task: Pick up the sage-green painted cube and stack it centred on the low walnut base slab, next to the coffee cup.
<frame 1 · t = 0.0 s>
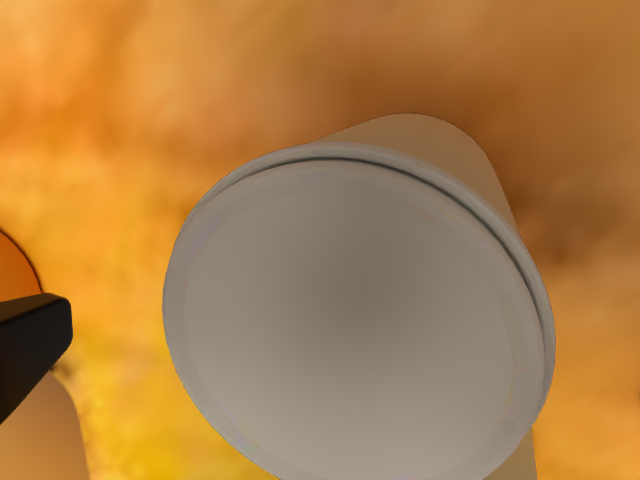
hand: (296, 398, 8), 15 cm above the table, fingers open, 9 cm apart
cube: (465, 445, 25), on the table
coffee cup: (407, 200, 22), on the table
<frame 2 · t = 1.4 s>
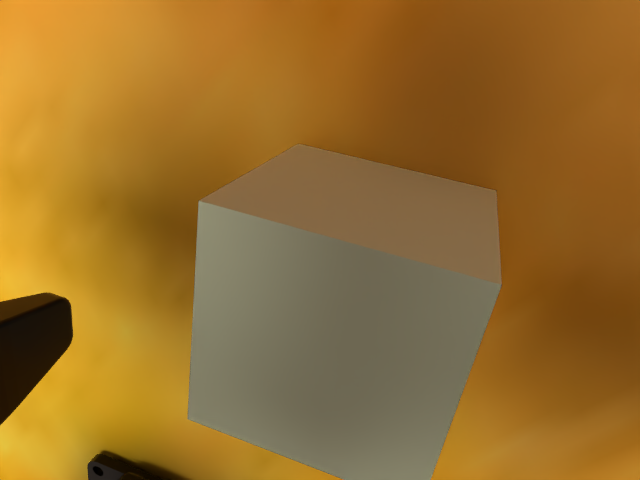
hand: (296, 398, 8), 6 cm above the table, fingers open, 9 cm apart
cube: (373, 254, 13), on the table
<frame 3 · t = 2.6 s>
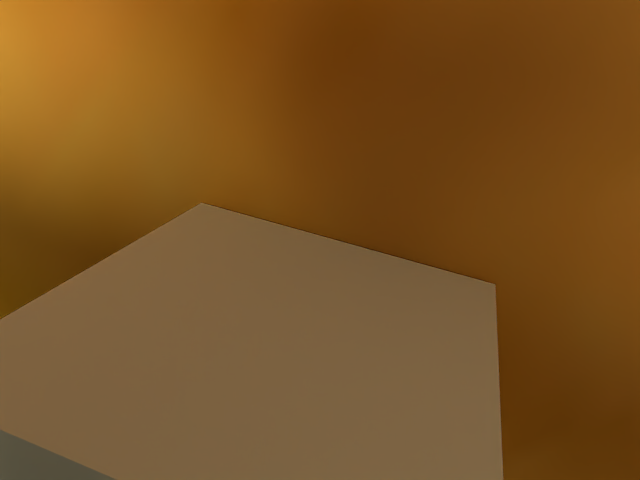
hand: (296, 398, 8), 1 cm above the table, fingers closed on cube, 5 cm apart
cube: (315, 362, 9), on the table, touching gripper
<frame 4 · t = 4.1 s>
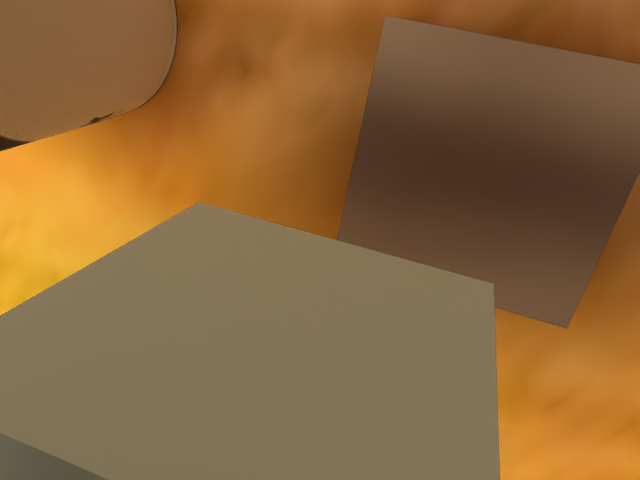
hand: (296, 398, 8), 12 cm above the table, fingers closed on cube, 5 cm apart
cube: (313, 361, 9), point 11 cm above the table, touching gripper
coffee cup: (96, 17, 20), on the table
base: (479, 161, 18), on the table
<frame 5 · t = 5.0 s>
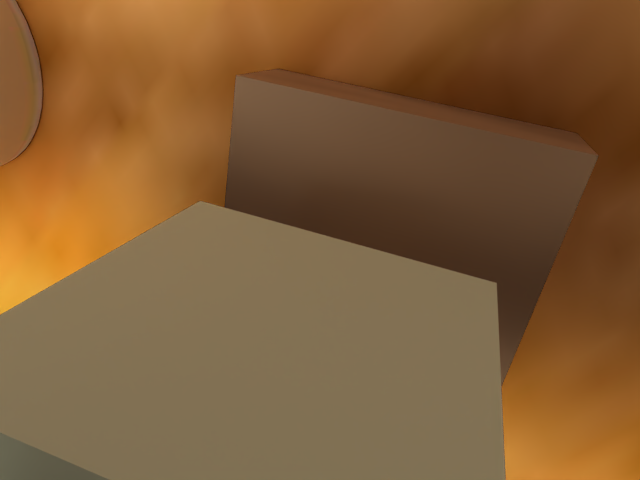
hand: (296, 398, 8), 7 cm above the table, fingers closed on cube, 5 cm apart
cube: (314, 361, 9), point 6 cm above the table, touching gripper
base: (386, 230, 15), on the table
when the fingers open (5 cm above the table, at t = 5.7 s): cube drops 2 cm, resting on base.
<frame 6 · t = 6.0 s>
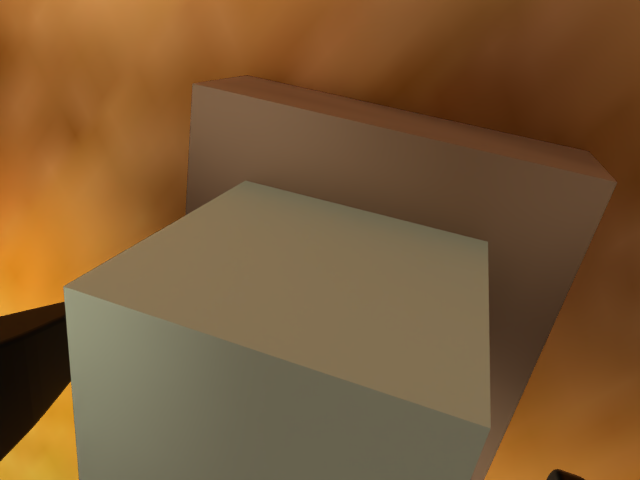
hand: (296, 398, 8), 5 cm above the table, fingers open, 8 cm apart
cube: (339, 314, 11), point 3 cm above the table, touching base
base: (372, 255, 13), on the table, touching cube
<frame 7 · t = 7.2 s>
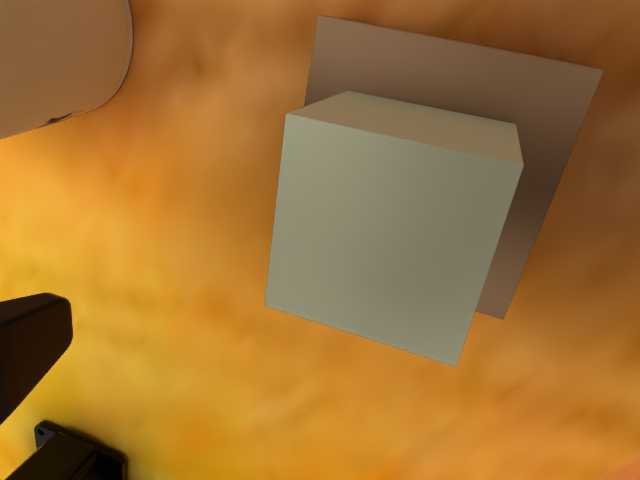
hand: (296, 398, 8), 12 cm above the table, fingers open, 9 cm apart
cube: (409, 186, 15), point 3 cm above the table
coffee cup: (58, 18, 20), on the table
base: (426, 155, 18), on the table
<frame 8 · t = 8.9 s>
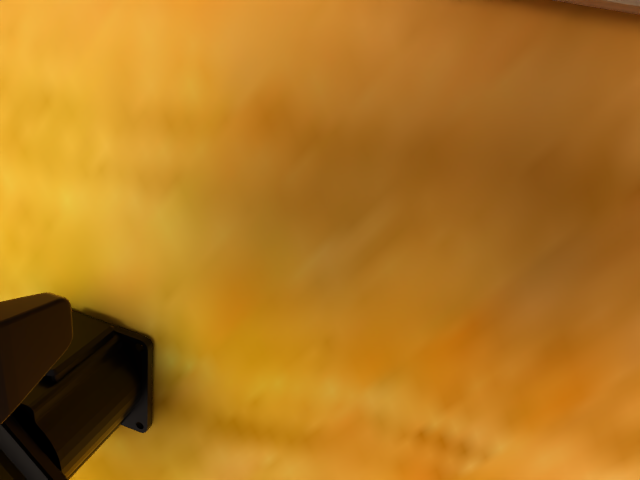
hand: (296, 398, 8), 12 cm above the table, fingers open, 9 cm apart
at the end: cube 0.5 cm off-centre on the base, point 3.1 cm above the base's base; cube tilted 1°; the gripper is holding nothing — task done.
